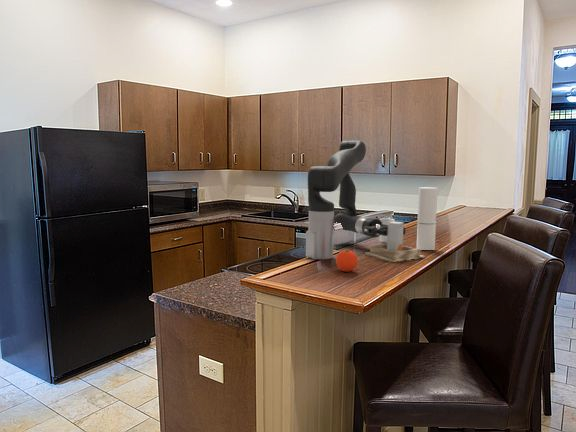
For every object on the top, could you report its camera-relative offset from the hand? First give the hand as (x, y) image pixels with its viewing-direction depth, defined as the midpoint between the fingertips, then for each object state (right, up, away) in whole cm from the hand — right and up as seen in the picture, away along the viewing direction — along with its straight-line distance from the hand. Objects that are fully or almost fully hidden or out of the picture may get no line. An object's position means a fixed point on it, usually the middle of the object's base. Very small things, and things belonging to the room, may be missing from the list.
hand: (395, 232), depth 168 cm
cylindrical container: (+16, -8, +16) cm, 24 cm away
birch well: (0, -9, +1) cm, 9 cm away
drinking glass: (+4, -5, +34) cm, 35 cm away
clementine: (-21, -12, -23) cm, 33 cm away
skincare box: (0, -8, +1) cm, 9 cm away
